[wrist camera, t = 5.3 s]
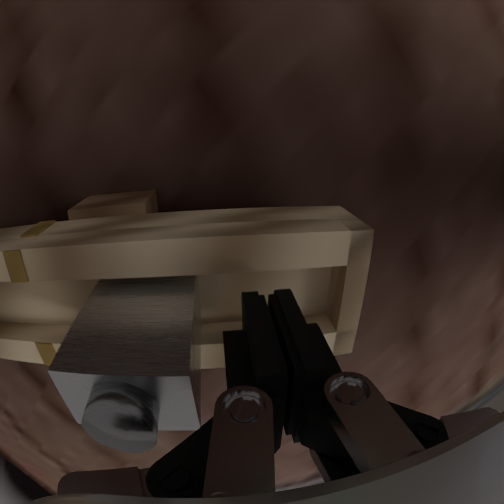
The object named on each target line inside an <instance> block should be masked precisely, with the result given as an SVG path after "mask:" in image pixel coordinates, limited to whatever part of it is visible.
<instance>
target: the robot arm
mask: <svg viewBox="0 0 504 504" xmlns="http://www.w3.org/2000/svg"><path fill="white" fill-rule="evenodd" d="M241 301H242V330H232V331H223V344H224V356H225V368H226V379H227V390H226V391H224V392H223V393H222V394H221V395H220V396H219V397H218V398H217V401H216V404H215V409H214V416H213V417H212V418H211V419H210V420H209V421H208V422H206V423H205V424H204V425H203V426H201V427H200V428H199V429H198V430H197V431H195V432H194V433H193V434H192V435H190V436H189V437H188V438H187V439H185V440H184V441H183V442H181V443H180V444H179V445H178V446H176V447H175V448H174V449H172V450H171V451H170V452H169V453H167V454H166V455H165V456H163V457H162V458H161V459H159V460H158V461H157V462H155V463H154V464H153V465H152V466H151V467H150V468H144V469H138V467H129V468H120V469H109V470H95V471H76V472H71V473H68V474H66V475H65V476H63V477H62V478H61V480H60V481H59V483H58V488H57V495H54V496H48V497H44V498H40V499H37V500H34V501H32V502H30V503H28V504H504V412H502V413H499V412H498V411H497V410H495V409H492V408H490V407H486V408H480V409H476V410H471V411H467V412H462V413H457V414H451V415H446V416H441V418H440V420H438V419H436V418H434V417H432V416H429V415H426V414H423V413H420V412H417V411H414V410H411V409H408V408H405V407H403V406H400V405H397V404H394V403H391V402H389V401H387V400H386V399H385V398H384V396H383V395H382V394H381V393H380V391H379V390H378V389H377V388H376V386H375V385H374V384H373V383H372V382H371V381H370V380H369V379H368V378H367V377H365V376H363V375H361V374H359V373H355V372H342V371H341V369H340V367H339V365H338V363H337V361H336V359H335V357H334V355H333V353H332V351H331V349H330V347H329V345H328V343H327V341H326V339H325V337H324V335H323V333H322V331H321V329H320V327H319V325H318V324H317V323H308V324H307V322H306V320H305V318H304V316H303V314H302V312H301V310H300V307H299V305H298V303H297V301H296V299H295V297H294V295H293V293H292V290H291V289H278V290H274V293H273V294H269V295H268V305H267V302H266V299H265V296H264V295H259V293H258V291H251V292H242V293H241ZM283 426H284V430H285V433H286V435H290V434H292V437H293V441H294V443H296V442H301V444H302V445H304V446H306V447H308V448H309V451H310V455H311V457H312V459H313V461H314V463H315V465H316V467H317V469H318V470H319V472H320V474H321V476H322V478H323V480H324V482H325V483H321V484H317V485H312V486H307V487H302V488H296V489H291V490H285V491H278V492H275V467H274V454H275V453H276V452H277V451H278V449H279V448H280V445H281V437H282V430H283Z"/></svg>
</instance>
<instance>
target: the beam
mask: <svg viewBox="0 0 504 504" xmlns="http://www.w3.org/2000/svg"><path fill="white" fill-rule="evenodd" d="M67 211H68V217H69V221H59V222H56V220H50V221H42V222H39V223H37V224H33V225H25V226H17V227H9V228H1V229H0V358H3V359H10V360H16V361H24V362H31V363H40V364H45V366H50V365H51V363H52V361H53V359H54V357H55V355H56V353H57V351H58V349H59V347H60V345H61V344H62V342H63V340H64V338H65V336H66V334H67V333H68V331H69V329H70V327H71V326H72V324H73V322H74V320H75V319H76V317H77V315H78V313H79V312H80V310H81V308H82V307H83V305H84V303H85V302H86V300H87V298H88V297H89V295H90V293H91V292H92V290H93V289H94V287H95V285H96V284H97V282H98V281H99V279H119V278H143V277H166V276H187V275H197V279H198V289H199V299H200V309H201V318H202V319H201V369H209V368H225V356H224V344H223V331H232V330H242V301H241V293H242V292H251V291H258V293H259V295H264V296H265V299H266V302H267V305H268V295H269V294H273V293H274V290H278V289H291V290H292V293H293V295H294V297H295V299H296V301H297V303H298V305H299V307H300V310H301V312H302V314H303V316H304V318H305V320H306V322H307V324H308V323H317V324H318V325H319V327H320V329H321V331H322V333H323V335H324V337H325V339H326V341H327V343H328V345H329V347H330V349H331V351H332V353H333V355H334V356H335V355H341V354H347V353H352V349H353V345H354V341H355V337H356V332H357V328H358V323H359V318H360V314H361V309H362V304H363V299H364V293H365V288H366V282H367V277H368V271H369V265H370V258H371V252H372V245H373V238H374V229H372V228H371V227H369V226H368V225H367V224H365V223H364V222H363V221H361V220H360V219H358V218H357V217H355V216H354V215H353V214H351V213H350V212H348V211H347V210H345V209H344V208H343V207H341V206H299V207H262V208H235V209H214V210H195V211H178V212H162V213H158V204H157V192H156V189H154V190H142V191H131V192H121V193H111V194H101V195H92V196H88V197H87V198H85V199H84V200H82V201H81V202H79V203H78V204H76V205H75V206H73V207H72V208H70V209H69V210H67Z"/></svg>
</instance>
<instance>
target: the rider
mask: <svg viewBox="0 0 504 504" xmlns="http://www.w3.org/2000/svg"><path fill="white" fill-rule="evenodd" d="M201 319H202V318H201V309H200V299H199V289H198V279H197V275H187V276H166V277H143V278H119V279H99V281H98V282H97V284H96V285H95V287H94V289H93V290H92V292H91V293H90V295H89V297H88V298H87V300H86V302H85V303H84V305H83V307H82V308H81V310H80V312H79V313H78V315H77V317H76V319H75V320H74V322H73V324H72V326H71V327H70V329H69V331H68V333H67V334H66V336H65V338H64V340H63V342H62V344H61V345H60V347H59V349H58V351H57V353H56V355H55V357H54V359H53V361H52V363H51V365H50V367H49V369H48V372H49V374H50V376H51V378H52V380H53V382H54V384H55V386H56V387H57V389H58V391H59V393H60V395H61V396H62V398H63V400H64V401H65V403H66V405H67V407H68V408H69V410H70V412H71V413H72V415H73V416H74V418H75V420H76V421H77V423H78V424H82V426H83V428H84V430H85V431H86V433H87V434H88V435H89V436H90V437H92V438H93V439H94V440H96V441H97V442H99V443H101V444H102V445H105V446H107V447H109V448H112V449H115V450H119V451H123V452H133V453H135V452H144V451H148V450H150V449H152V448H153V447H154V446H155V445H156V442H157V432H158V430H198V429H199V428H200V427H201Z"/></svg>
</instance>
